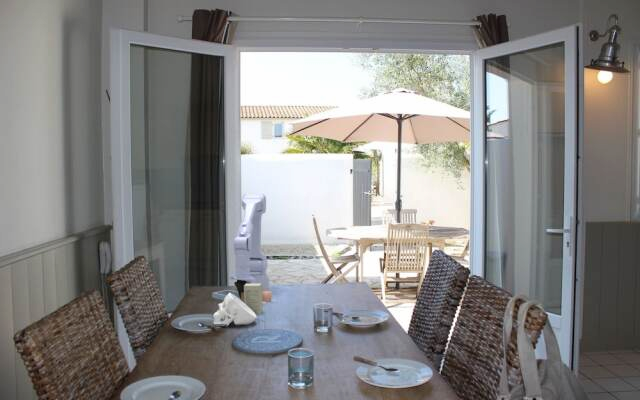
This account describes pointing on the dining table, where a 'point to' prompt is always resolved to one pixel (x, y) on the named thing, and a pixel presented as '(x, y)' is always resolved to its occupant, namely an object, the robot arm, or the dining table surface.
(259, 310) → the skincare box
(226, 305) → the skull bowl
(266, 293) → the peach rounded cylinder
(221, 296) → the slate board with cubby
